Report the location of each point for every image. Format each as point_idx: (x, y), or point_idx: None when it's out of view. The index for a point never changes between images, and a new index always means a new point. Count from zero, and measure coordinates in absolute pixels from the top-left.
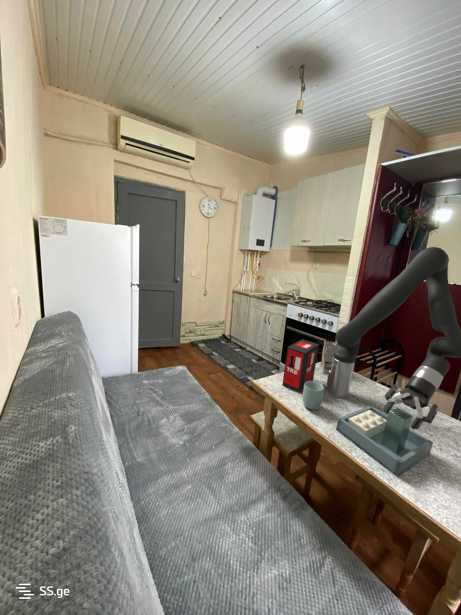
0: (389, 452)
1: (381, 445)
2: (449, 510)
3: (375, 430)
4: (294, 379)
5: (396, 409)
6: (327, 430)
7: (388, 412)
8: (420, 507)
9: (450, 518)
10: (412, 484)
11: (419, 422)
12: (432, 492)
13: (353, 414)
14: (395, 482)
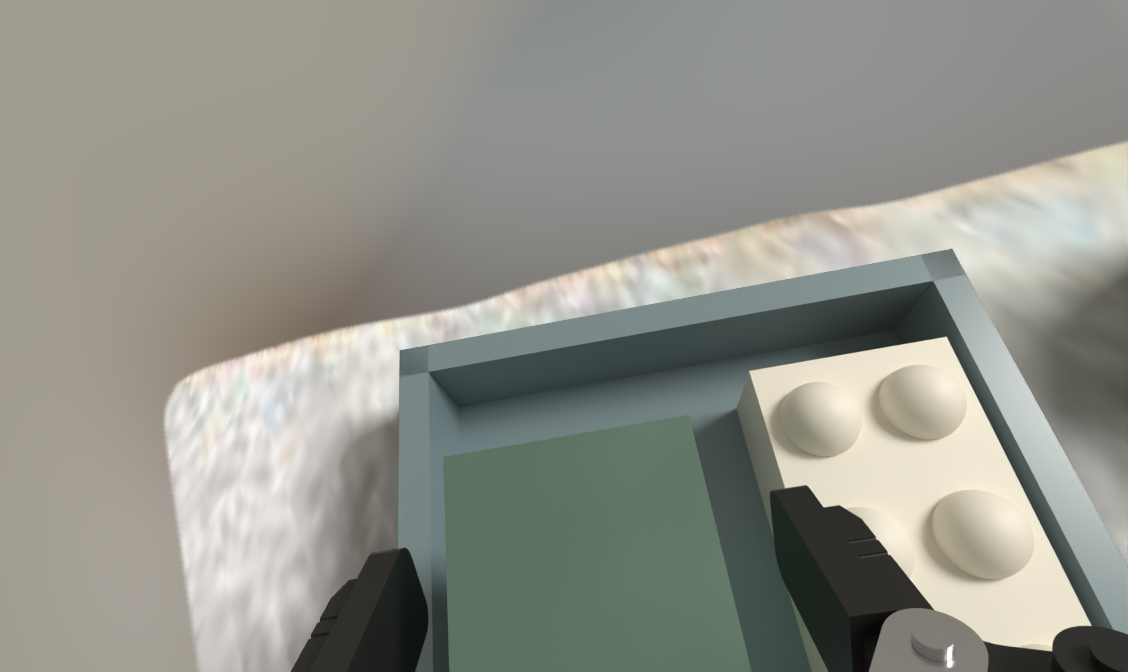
0: (494, 357)
1: None
2: (198, 484)
3: None
4: None
5: (705, 615)
6: (899, 251)
7: (787, 583)
8: (289, 351)
9: (185, 440)
10: (370, 440)
11: (303, 661)
12: (286, 509)
13: (1027, 443)
14: None
